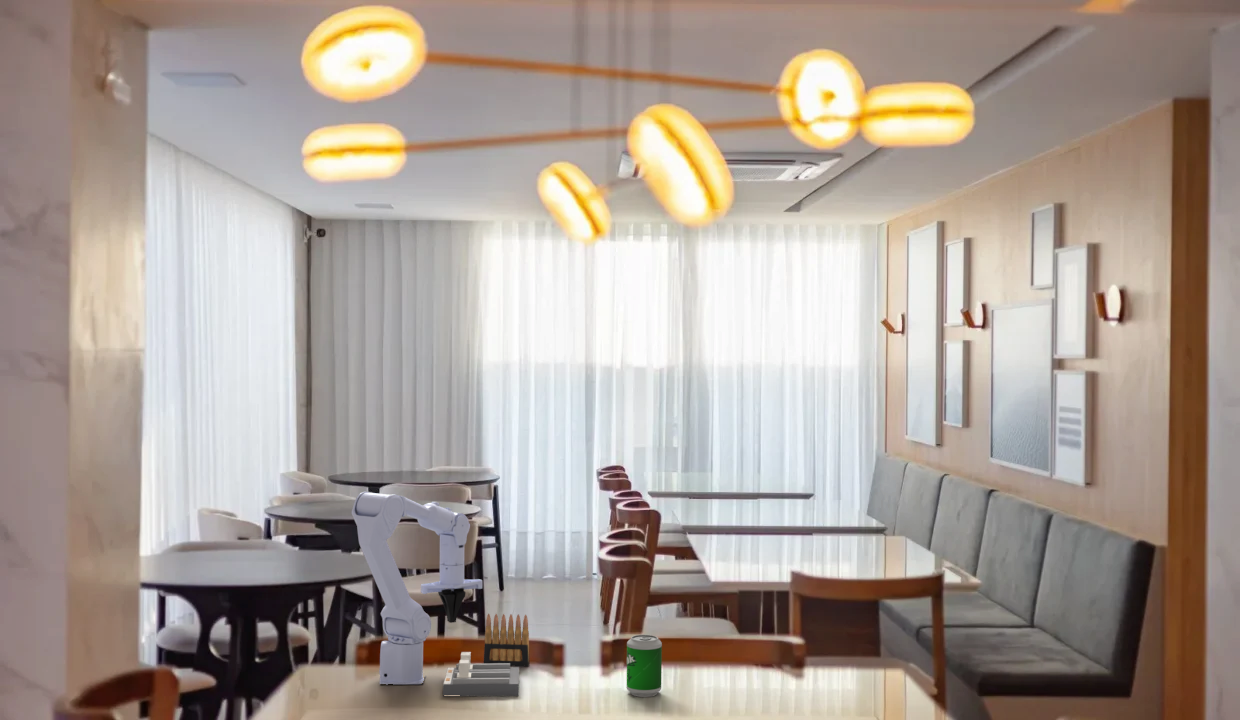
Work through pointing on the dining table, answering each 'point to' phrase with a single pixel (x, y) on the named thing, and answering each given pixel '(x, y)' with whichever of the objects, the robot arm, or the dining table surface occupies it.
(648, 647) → the soda can
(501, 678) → the switch bank
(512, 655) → the ammunition clip
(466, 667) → the tab near
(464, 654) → the tab far
